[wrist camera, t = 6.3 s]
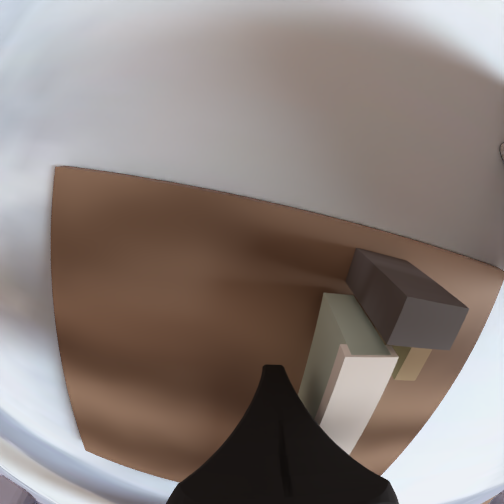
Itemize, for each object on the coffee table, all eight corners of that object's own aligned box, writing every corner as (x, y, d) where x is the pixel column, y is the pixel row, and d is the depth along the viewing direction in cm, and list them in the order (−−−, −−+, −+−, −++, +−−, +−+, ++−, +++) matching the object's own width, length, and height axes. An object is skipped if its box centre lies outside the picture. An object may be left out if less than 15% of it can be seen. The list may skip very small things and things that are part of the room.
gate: (286, 489, 15) (288, 537, 11) (263, 488, 15) (262, 537, 11) (357, 294, 11) (398, 356, 7) (318, 290, 11) (344, 356, 7)
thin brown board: (358, 488, 17) (370, 539, 12) (89, 443, 16) (62, 494, 11) (497, 267, 12) (566, 309, 6) (65, 166, 11) (-28, 176, 6)
